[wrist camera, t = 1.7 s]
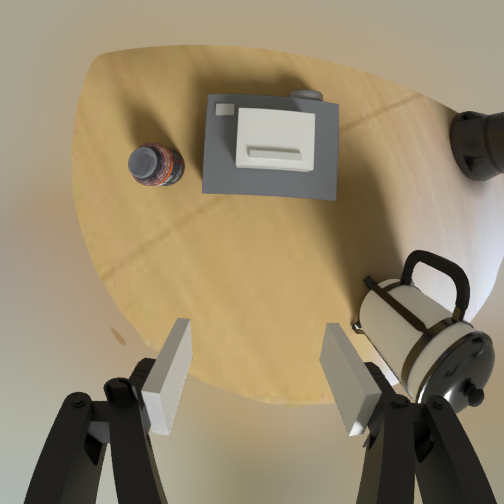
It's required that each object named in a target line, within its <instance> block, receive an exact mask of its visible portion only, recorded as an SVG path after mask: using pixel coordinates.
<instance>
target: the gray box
mask: <svg viewBox="0 0 504 504" xmlns="http://www.w3.org/2000/svg"><path fill="white" fill-rule="evenodd" d="M239 108H255V109H271V110H284V111H294V112H303V113H311V114H315V137H314V166H313V170H311V171H308V172H300V171H288V170H274V169H256V168H237V166H236V150H237V131H238V114H239ZM338 142H339V104H335V103H329V102H323V95H322V94H321V93H320V92H318V91H314V90H309V89H298V90H294V91H292V92H290V97H280V96H267V95H248V94H208V103H207V115H206V128H205V144H204V161H203V183H202V193H207V194H240V195H262V196H279V197H294V198H308V199H320V200H331V201H336V191H337V172H338Z"/></svg>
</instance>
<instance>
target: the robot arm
mask: <svg viewBox="0 0 504 504" xmlns="http://www.w3.org/2000/svg"><path fill="white" fill-rule="evenodd" d="M450 139H451V146H452V151H453V154H454V157H455V159H456V162H457V164H458V166H459V167H460V169H461V170H462V172H463V173H464V174H465V175H466V176H467V177H468V178H470V179H472V180H475V181H485V180H488V179H490V178H492V177H494V176H496V175H499V174H501V173H504V112H502V113H497V114H492V115H486V114H482V113H477V112H473V111H467V112H462V113H459V114H458V115H456V116H455V118H454V119H453V121H452V125H451V131H450ZM191 360H192V343H191V325H190V319H185V318H177V320H176V322H175V324H174V326H173V328H172V330H171V332H170V334H169V336H168V338H167V339H166V341H165V343H164V345H163V347H162V349H161V351H160V353H159V355H158V358H157V359H151V358H144V359H142V360H141V361H140V362H138V364H137V366H136V367H135V369H134V371H133V372H132V375H131V376H130V378H129V379H126V378H119V377H118V378H113V379H111V380H109V381H108V382H106V383H105V385H104V388H103V389H104V392H105V395H106V397H107V400H108V401H92V400H91V398H90V396H89V395H88V394H86V393H83V392H75V393H71V394H70V395H68V396H67V397H66V399H65V400H64V402H63V404H62V407H61V408H60V410H59V413H58V415H57V417H56V419H55V421H54V424H53V426H52V428H51V430H50V432H49V435H48V437H47V439H46V442H45V444H44V447H43V449H42V452H41V454H40V457H39V460H38V462H37V465H36V468H35V470H34V473H33V476H32V479H31V482H30V485H29V488H28V491H27V494H26V497H25V501H24V504H95V503H96V497H97V490H98V485H99V480H100V475H101V470H102V465H103V461H104V456H105V451H106V447H107V443H110V445H111V456H112V464H113V473H114V480H115V486H116V492H117V498H118V503H119V504H168V502H167V499H166V496H165V493H164V490H163V487H162V483H161V480H160V476H159V473H158V469H157V466H156V462H155V458H154V454H153V450H152V445H151V441H150V437H149V434H148V432H149V429H150V427H151V428H152V432H153V433H157V434H162V435H168V436H169V435H170V431H171V427H172V424H173V421H174V417H175V413H176V410H177V407H178V403H179V400H180V397H181V393H182V390H183V387H184V383H185V380H186V377H187V373H188V370H189V367H190V364H191ZM320 363H321V365H322V368H323V370H324V373H325V376H326V378H327V381H328V383H329V386H330V388H331V391H332V394H333V396H334V399H335V401H336V404H337V406H338V409H339V412H340V414H341V417H342V419H343V422H344V425H345V428H346V430H347V433H348V436H353V435H358V434H363V433H364V432H365V429H366V427H367V426H368V428H369V430H370V433H369V435H368V437H367V439H366V441H365V443H364V445H363V447H365V446H366V453H365V459H364V466H363V472H362V477H361V482H360V487H359V492H358V497H357V501H356V504H414V486H415V474H416V478H417V482H418V486H419V489H420V493H421V497H422V502H423V504H497V502H496V500H495V497H494V495H493V492H492V489H491V487H490V484H489V482H488V479H487V477H486V475H485V473H484V470H483V468H482V466H481V464H480V461H479V459H478V457H477V455H476V453H475V451H474V448H473V446H472V444H471V442H470V441H469V439H468V437H467V435H466V433H465V431H464V429H463V427H462V425H461V423H460V421H459V419H458V418H457V416H456V414H455V412H454V410H453V408H452V407H451V405H450V403H449V402H448V400H447V399H446V398H444V397H443V396H440V395H432V396H429V397H428V398H427V399H426V401H425V403H411V402H410V400H409V399H408V398H407V397H405V396H403V395H400V394H396V393H395V391H394V390H393V388H392V386H391V385H390V383H389V382H388V380H387V379H385V376H384V374H382V371H381V370H380V369H379V367H378V366H377V365H375V364H374V363H372V362H365V363H363V361H362V359H361V358H360V356H359V355H358V353H357V351H356V350H355V348H354V347H353V345H352V343H351V342H350V340H349V339H348V337H347V336H346V334H345V332H344V331H343V329H342V328H341V326H340V325H339V323H326V329H325V335H324V340H323V345H322V350H321V355H320ZM366 444H367V445H366Z"/></svg>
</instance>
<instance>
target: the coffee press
mask: <svg viewBox="0 0 504 504" xmlns="http://www.w3.org/2000/svg"><path fill="white" fill-rule="evenodd" d="M419 261H420V262H423V263H425V264H427V265H429V266H431V267H433V268H435V269H437V270H439V271H441V272H443V273H445V274H447V275H448V276H450V277H451V278H452V280H453V281H454V283H455V286H456V290H457V297H456V303H455V305H456V307H455V309H454V312H453V313H452V312H450V311H449V310H447V309H446V308H444V307H443V306H442V305H440V304H439V303H437V302H436V301H434V300H433V299H431V298H430V297H428V296H427V295H425V294H424V293H422V292H421V291H420V290H419V289H418V288H417V287H415V286H414V282H413V280H412V278H411V277H412V273H413V269H414V267H415V265H416V264H417V263H418V262H419ZM363 281H364V283H365V284H366V285H367V287H368V288H369V289H370V292H369V293H368V294H367V295H366V297H365V299H364V301H363V303H362V305H361V309H360V323H356V324H354V325H353V327H352V329H353V330H354V332H355V333H356V334H364V335H365V336H366V337H367V336H368V337H369V338H368V337H367V338H368V339H369V341H370V340H371V341H372V342H371V341H370V342H371V343H372V345H373V344H374V345H375V346H374V345H373V346H374V348H375V349H376V348H377V349H378V350H377V349H376V350H377V352H378V353H379V352H380V353H381V354H380V353H379V354H380V356H381V355H382V356H383V357H384V358H383V357H382V356H381V357H382V358H383V360H384V359H385V360H386V361H387V362H386V361H385V360H384V361H385V363H386V364H387V363H388V364H389V365H390V366H389V365H388V364H387V365H388V367H389V368H390V367H391V368H392V369H391V368H390V369H391V371H392V370H393V371H394V372H395V373H394V372H393V371H392V372H393V374H394V375H395V374H396V375H397V376H398V377H397V376H396V375H395V376H396V378H397V379H398V378H399V379H400V380H399V379H398V381H399V382H400V381H401V382H400V383H401V385H402V386H403V388H404V389H405V391H406V392H407V393H408V395H409V396H410V397H411V398H412V399H414V400H415V403H425V401H426V399H427V398H428V397H429V396H432V395H440V396H443V397H444V398H446V399H447V400H448V402H449V403H450V405H451V407H452V408H453V410H454V412H455V414H457V413H459V412H460V411H462V410H463V409H465V408H466V407H467V406H468V405H469V406H472V407H476V406H478V405H480V404H481V403H482V401H483V399H484V392H483V388H484V387H485V385H486V383H487V382H488V380H489V378H490V376H491V373H492V370H493V367H494V361H495V353H494V349H493V345H492V340H491V338H490V337H489V336H488V335H487V334H486V333H484V332H482V331H476V330H475V329H474V327H473V326H472V325H471V324H470V323H468V322H467V321H466V320H464V319H463V318H464V315H465V311H466V309H467V308H468V304H469V298H470V286H469V281H468V278H467V276H466V274H465V272H464V271H463V269H462V268H461V267H459V266H458V265H457V264H455V263H454V262H452V261H450V260H447V259H445V258H443V257H441V256H438V255H436V254H433V253H431V252H428V251H423V250H415V251H413V252H412V253H411V254H410V255H409V256H408V258H407V260H406V262H405V265H404V269H403V273H402V277H401V279H389V280H385V281H383V282H381V283H379V284H376V283H375V282H374V281H373V279H372V278H371V277H370V276H367V277H366V278H365V279H364V280H363ZM359 328H362V329H363V330H364V332H365V333H366V334H365V333H364V332H363V331H362V330H361V329H359Z"/></svg>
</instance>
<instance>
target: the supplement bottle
mask: <svg viewBox="0 0 504 504" xmlns="http://www.w3.org/2000/svg"><path fill="white" fill-rule="evenodd" d="M128 167H129V170H130V172H131V174H132V175H133V177H134V178H135V180H136V181H137V182H139V183H140V184H143V185H146V186H168V185H172V184H175V183H176V182H177V181H179V180H180V178H181V177H182V175H183V173H184V169H185V164H184V160H183V158H182V156H181V155H180V154H179V153H178V152H176V151H175V150H172V149H170V148H168V147H166V146H163V145H161V144H158V143H147V144H144V145H142V146H141V147H139V148H138V149H136V150H135V151H134V152H133V153H132V154H131V156H130V158H129V162H128Z"/></svg>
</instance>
